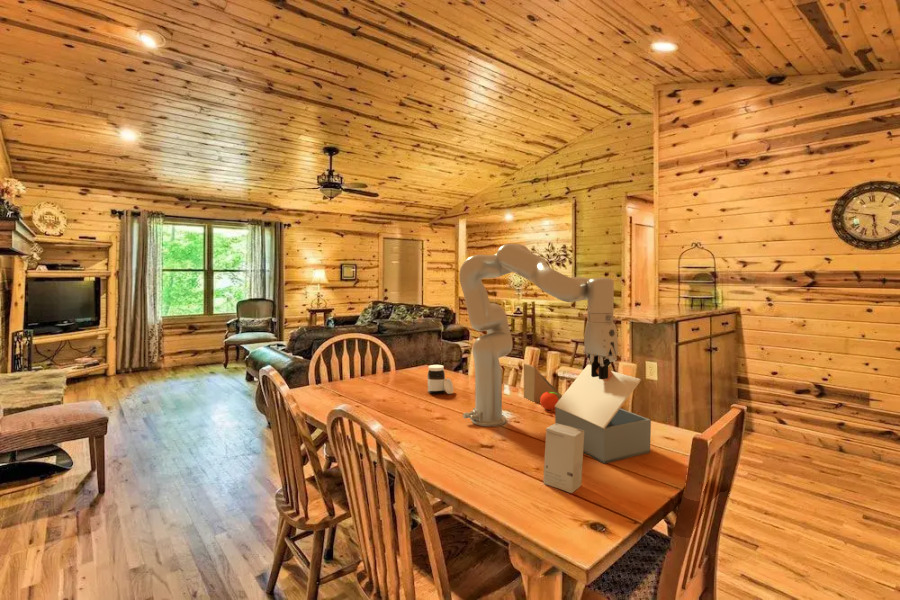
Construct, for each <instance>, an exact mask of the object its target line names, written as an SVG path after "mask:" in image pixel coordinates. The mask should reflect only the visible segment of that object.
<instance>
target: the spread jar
mask: <svg viewBox="0 0 900 600" xmlns="http://www.w3.org/2000/svg"><path fill="white" fill-rule="evenodd" d="M444 370H445V369H444V365H441V364H430V365H428V371H427V392H428V393H429V394H432V395H440V394H443V393H445V392H446V393H447V394H448V395H451V394H453V393H454V384H453V382H452V380H451V378H448V377H447V378H446V373H445V371H444Z"/></svg>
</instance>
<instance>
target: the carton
mask: <svg viewBox="0 0 900 600" xmlns="http://www.w3.org/2000/svg"><path fill="white" fill-rule="evenodd" d="M554 410H555V411H554V413H555V418H554V419H555V421H554V422H555V423H558V424H562V425H565V426H570V427H573V428H576V429H580V430H583V431H584V446H583V454H585V455H587V456H588V455H589V457H590V458H593V460H596V461H598V462H599V463H601V464H603V465H605V464H609V463H612V462H613V463H614V462H616V461H621V460H626V459H629V457H630V458H633V456H634V457H637V455H638V456H642V455H646V454H649V453H651V438H652V437H651V436H652V435H651V429H652V427H651V426H652V420H651V419H650V418H647V417H644V416H642V415H640V414H639V415H638V414H637V413H634V412H631V411H628V410H626V409H624V408H621V407H620V409H619V410H618V411H617V413H616V414H615V415H614V417H613V418H612V419H611V421H610V422H609V423H608V425H607V426H606V427H605V429H603V428H601V427H599V426H596V425H594V424H592V423H590V422H588V421H585V420H583V419H581V418H579V417H576V416H574V415H572V414H570V413H568V412H565V411H563V410H561V409H559V408H556V407H555V408H554ZM555 423H554V424H555ZM641 454H642V455H641ZM625 458H626V459H625Z"/></svg>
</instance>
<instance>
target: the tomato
mask: <svg viewBox="0 0 900 600" xmlns="http://www.w3.org/2000/svg"><path fill="white" fill-rule="evenodd" d="M555 394H557V393H555ZM555 394H554V392H545V393H544V394H542V396H541V398H540V402H539V403H540V405H541V407H542V408H543V409H545V410H548V411H551V410H555V405H556V403H557V402H558V401H559V400H558V398H557V396H556V395H555ZM557 395H558V394H557Z"/></svg>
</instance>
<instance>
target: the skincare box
mask: <svg viewBox="0 0 900 600" xmlns="http://www.w3.org/2000/svg"><path fill="white" fill-rule="evenodd" d="M545 430H546V431H545V444H544V445H545V446H544V447H545V448H544V465H543V484H544V485H545V486H549V487H553V488H556V489H559V490H562V491H564V492H567V493H570V494H573V493H574V492H575V491H576V490H578V489H579V488H580V487H581V486H582V481H583V465H584V464H583V461H584V459H583V458H584V453H583V446H584V431H583V430H580V429H576V428H573V427H570V426H565V425H562V424H558V423H554V424H551V425H550V426H547V427H546V429H545Z"/></svg>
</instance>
